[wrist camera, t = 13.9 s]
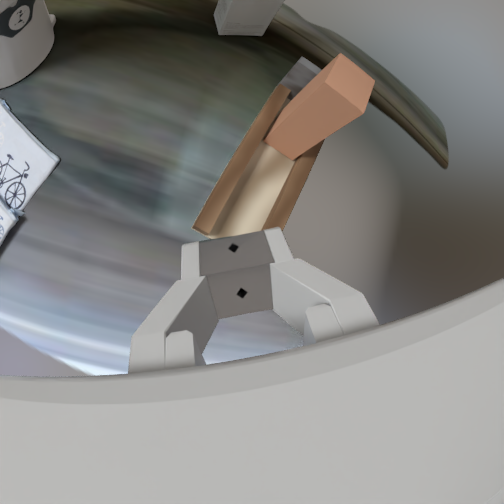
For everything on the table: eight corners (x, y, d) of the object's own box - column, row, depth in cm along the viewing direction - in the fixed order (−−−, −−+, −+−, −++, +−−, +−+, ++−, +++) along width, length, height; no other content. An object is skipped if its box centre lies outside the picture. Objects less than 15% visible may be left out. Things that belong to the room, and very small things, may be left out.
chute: (191, 228, 36) (203, 217, 28) (276, 85, 42) (302, 56, 34) (258, 265, 39) (287, 265, 31) (327, 120, 44) (358, 98, 36)
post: (263, 141, 39) (324, 82, 24) (279, 112, 40) (340, 52, 25) (292, 160, 41) (363, 113, 26) (307, 131, 42) (375, 80, 27)
